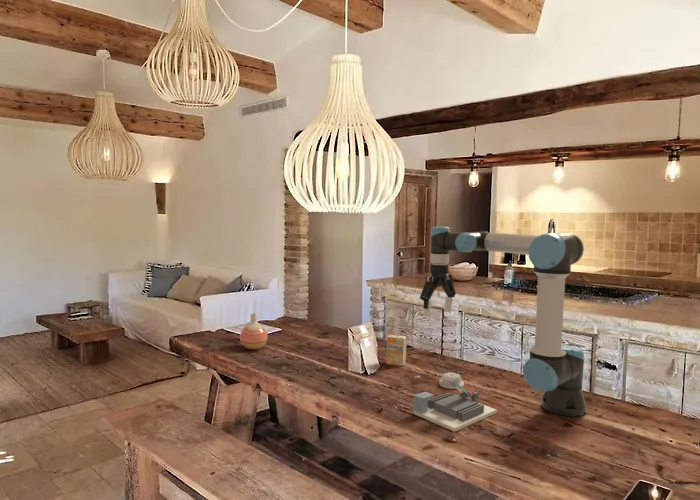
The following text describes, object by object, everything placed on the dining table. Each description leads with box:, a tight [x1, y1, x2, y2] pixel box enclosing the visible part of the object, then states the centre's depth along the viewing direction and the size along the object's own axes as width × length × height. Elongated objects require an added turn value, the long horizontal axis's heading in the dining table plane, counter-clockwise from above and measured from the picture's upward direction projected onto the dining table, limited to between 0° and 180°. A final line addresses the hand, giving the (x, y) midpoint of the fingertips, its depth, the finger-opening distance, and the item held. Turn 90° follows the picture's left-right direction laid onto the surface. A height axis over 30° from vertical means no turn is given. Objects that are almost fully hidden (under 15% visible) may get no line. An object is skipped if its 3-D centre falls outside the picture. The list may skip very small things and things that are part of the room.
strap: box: [440, 375, 473, 400], centre depth 180 cm, size 5×17×1 cm
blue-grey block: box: [413, 391, 435, 414], centre depth 179 cm, size 4×6×5 cm
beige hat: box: [438, 371, 465, 390], centre depth 208 cm, size 10×4×10 cm
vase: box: [239, 312, 268, 351], centre depth 255 cm, size 14×14×18 cm
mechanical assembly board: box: [413, 387, 498, 433], centre depth 179 cm, size 18×24×6 cm
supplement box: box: [385, 334, 407, 367], centre depth 233 cm, size 8×5×13 cm, turn 68°
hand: (437, 314), depth 212 cm, fingers open, 13 cm apart
